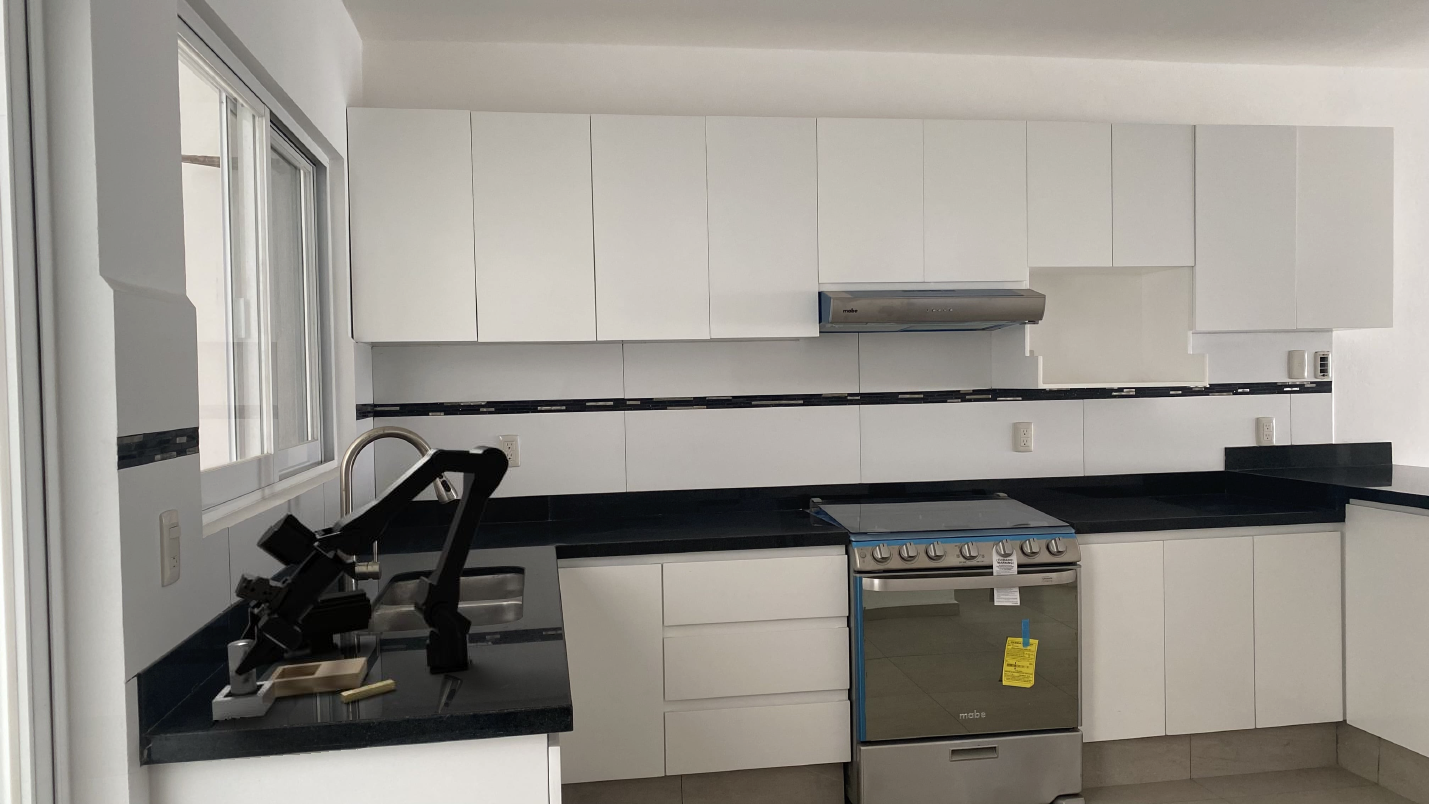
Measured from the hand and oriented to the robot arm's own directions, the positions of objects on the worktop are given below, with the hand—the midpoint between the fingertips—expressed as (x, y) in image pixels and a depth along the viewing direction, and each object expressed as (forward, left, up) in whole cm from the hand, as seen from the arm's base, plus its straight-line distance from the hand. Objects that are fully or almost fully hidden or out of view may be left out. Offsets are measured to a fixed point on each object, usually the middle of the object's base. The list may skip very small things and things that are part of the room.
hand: (235, 665), depth 139 cm
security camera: (-6, -29, -7) cm, 30 cm away
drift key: (-19, -1, -7) cm, 20 cm away
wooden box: (-10, -9, -7) cm, 15 cm away
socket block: (-1, 0, -7) cm, 7 cm away
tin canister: (-1, 0, -7) cm, 7 cm away
